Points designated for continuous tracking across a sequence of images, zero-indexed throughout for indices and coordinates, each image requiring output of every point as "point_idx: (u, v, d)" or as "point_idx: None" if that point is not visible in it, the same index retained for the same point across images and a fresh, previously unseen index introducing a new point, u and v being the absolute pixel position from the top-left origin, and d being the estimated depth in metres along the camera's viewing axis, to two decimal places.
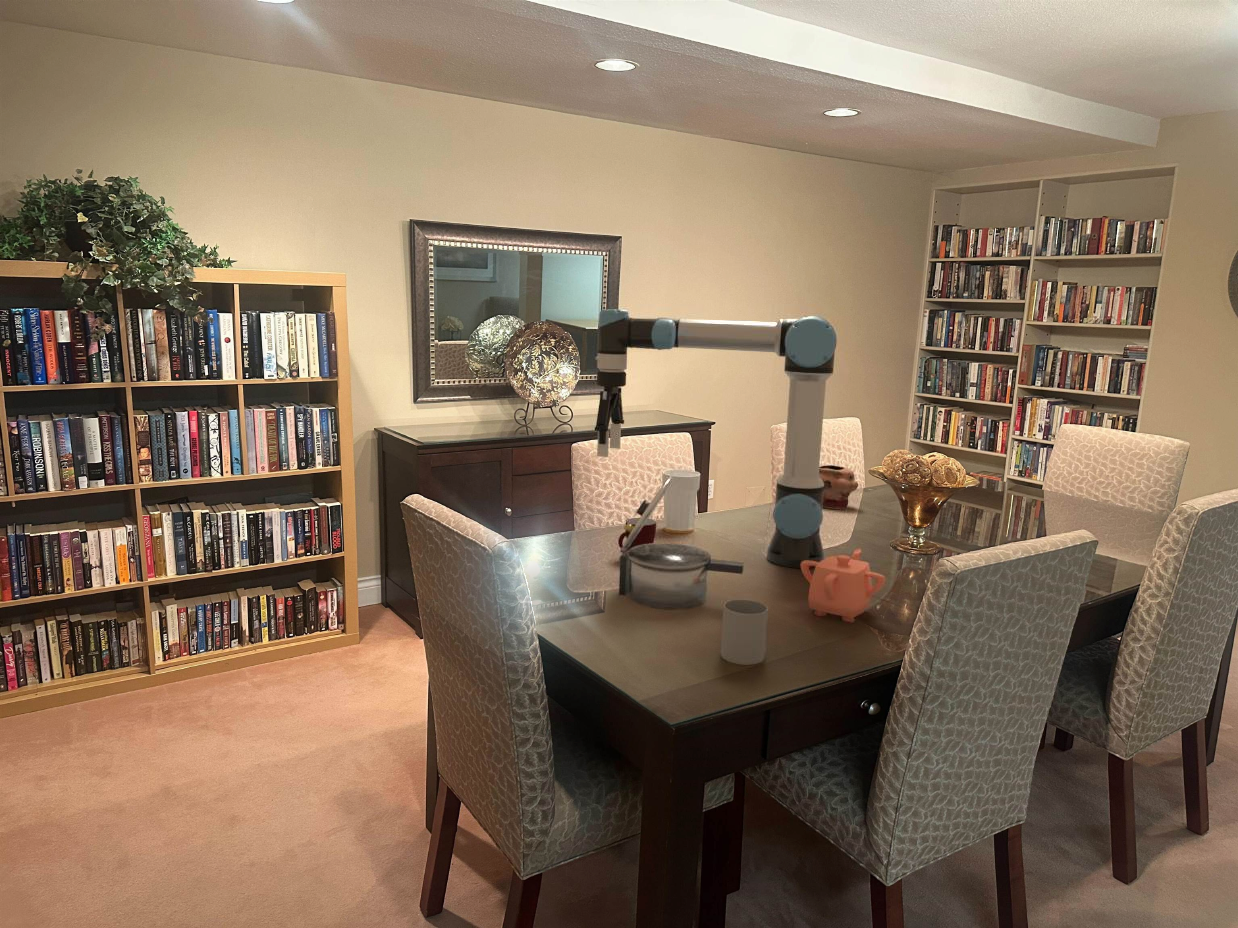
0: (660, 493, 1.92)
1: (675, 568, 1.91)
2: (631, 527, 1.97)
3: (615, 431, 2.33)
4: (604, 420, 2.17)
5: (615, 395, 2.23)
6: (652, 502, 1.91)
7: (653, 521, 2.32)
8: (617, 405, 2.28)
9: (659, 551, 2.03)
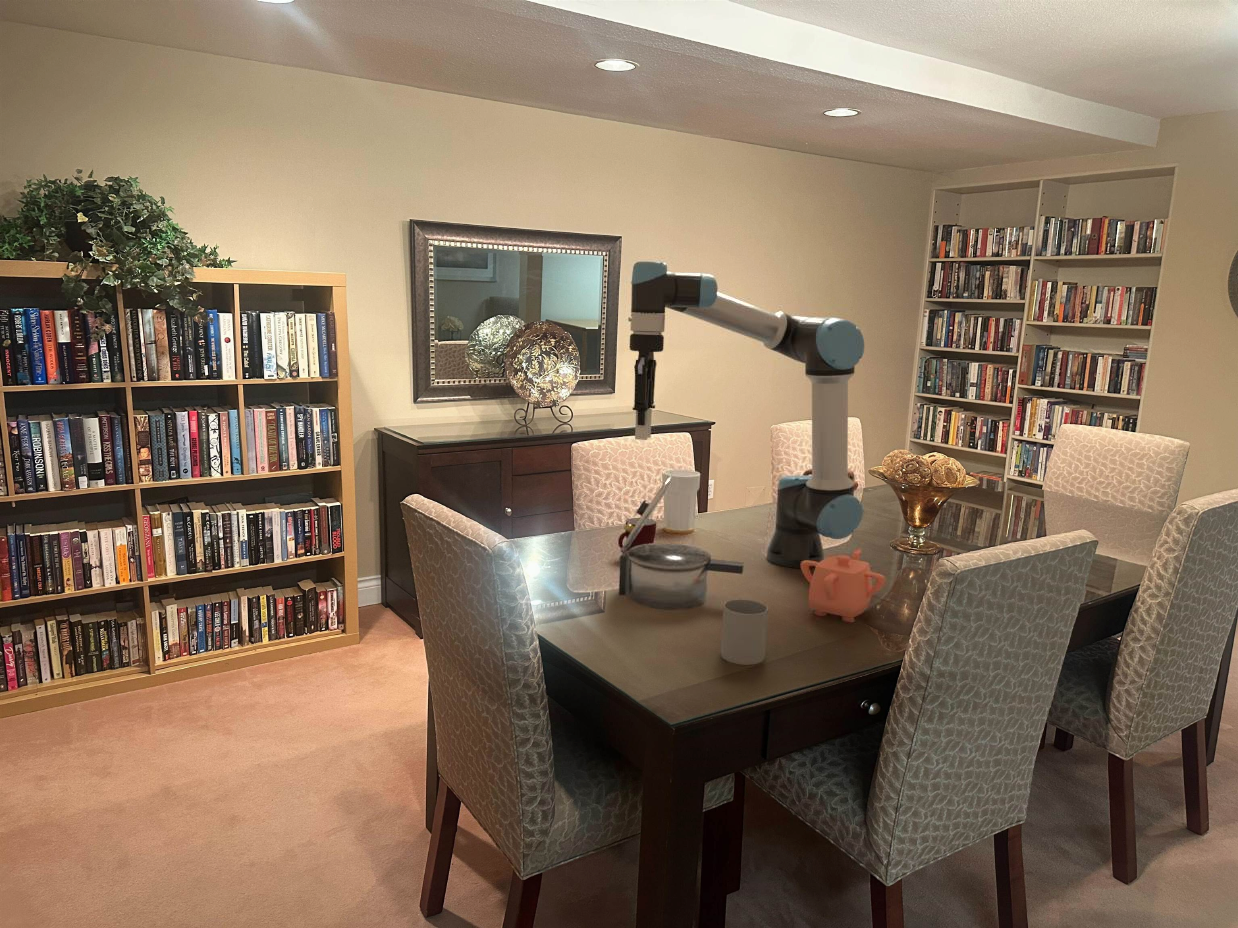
0: (660, 493, 1.92)
1: (675, 568, 1.91)
2: (631, 527, 1.97)
3: None
4: (643, 399, 1.91)
5: (651, 363, 1.92)
6: (652, 502, 1.91)
7: (653, 521, 2.32)
8: None
9: (659, 551, 2.03)
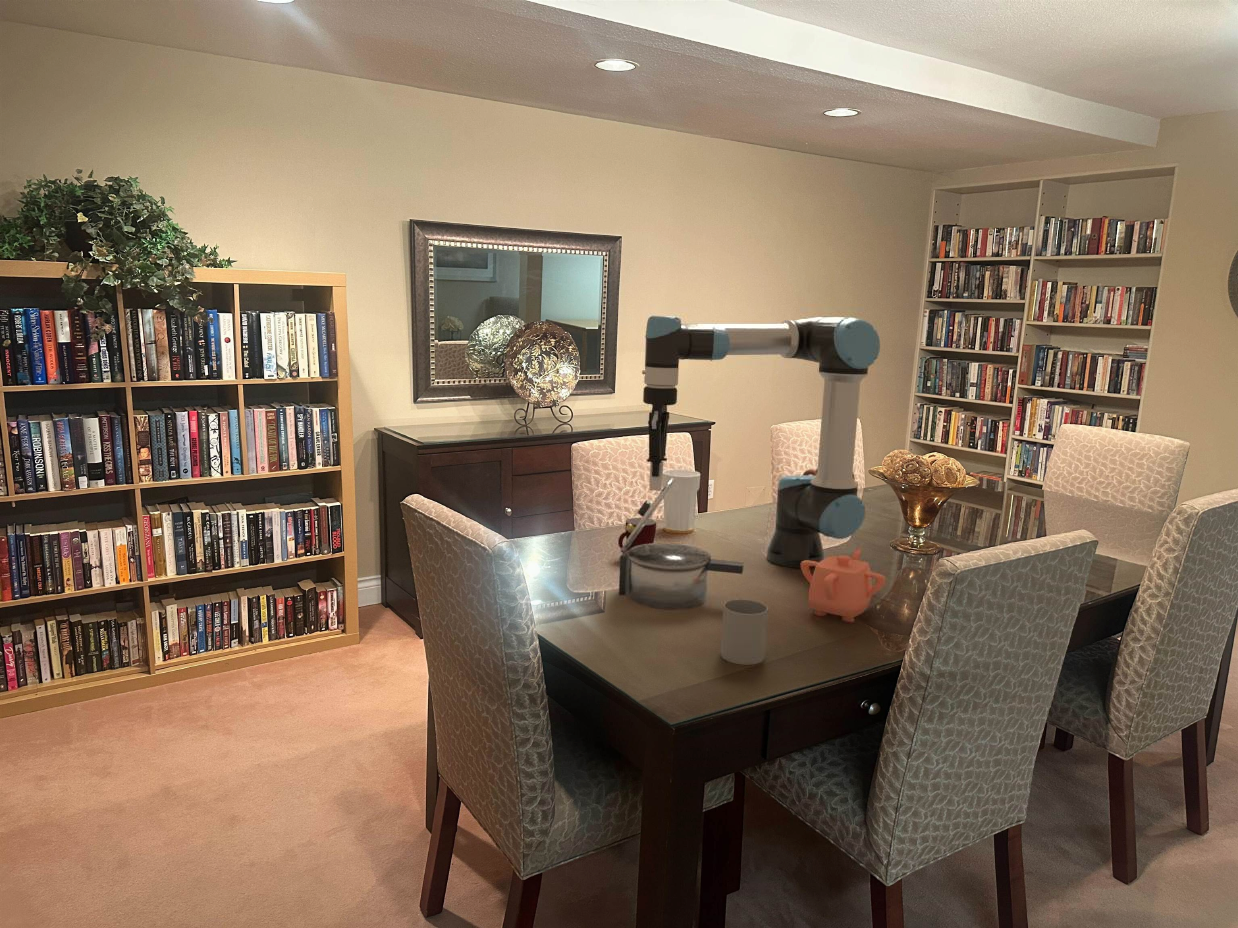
0: (662, 494, 1.92)
1: (675, 568, 1.91)
2: (632, 527, 1.97)
3: None
4: (657, 452, 1.93)
5: (664, 417, 1.94)
6: (654, 503, 1.91)
7: (653, 521, 2.32)
8: None
9: (659, 551, 2.03)
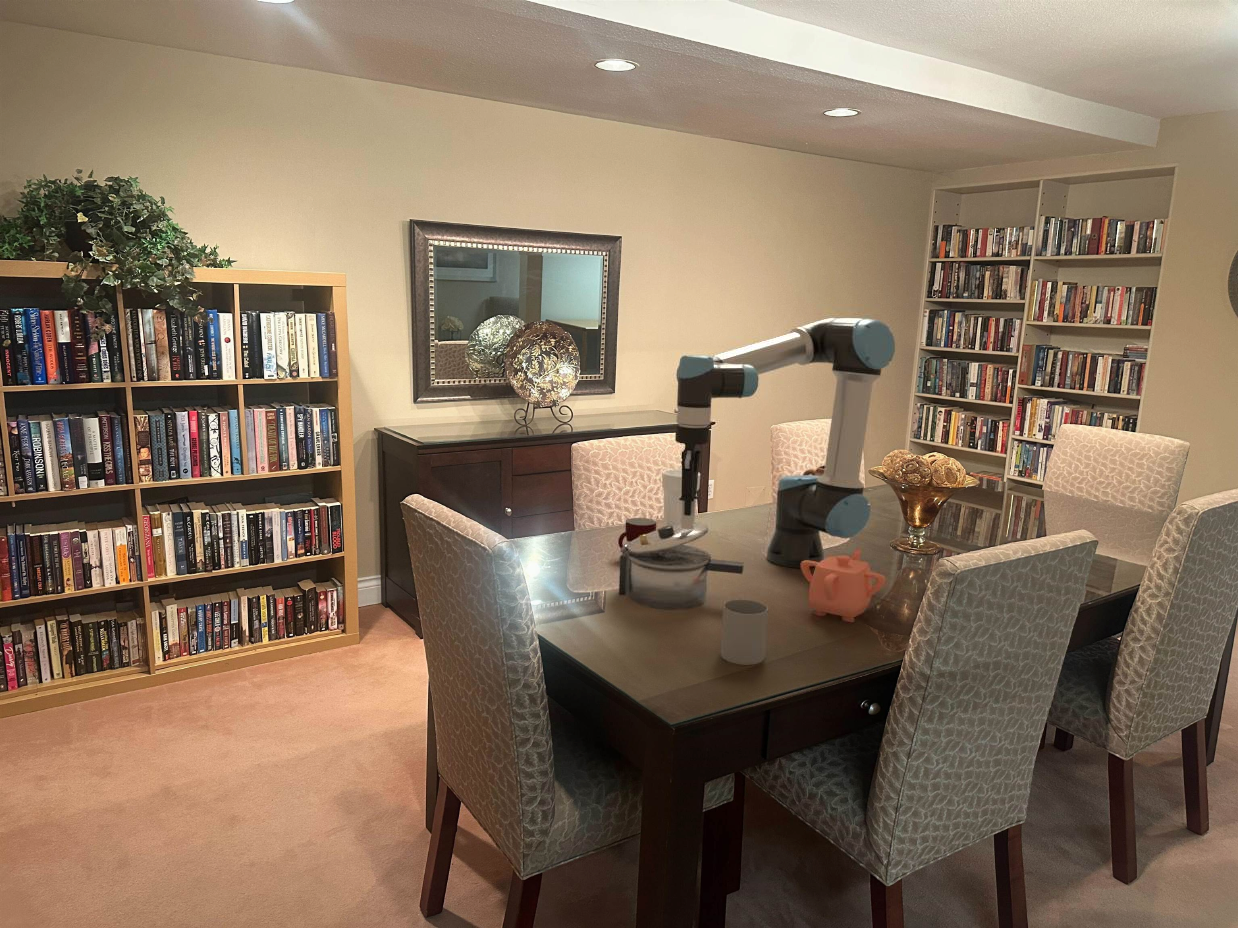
0: (692, 539, 1.92)
1: (675, 568, 1.91)
2: (645, 541, 1.97)
3: None
4: (690, 492, 1.93)
5: (697, 456, 1.93)
6: (681, 541, 1.91)
7: (653, 521, 2.32)
8: None
9: (659, 551, 2.03)
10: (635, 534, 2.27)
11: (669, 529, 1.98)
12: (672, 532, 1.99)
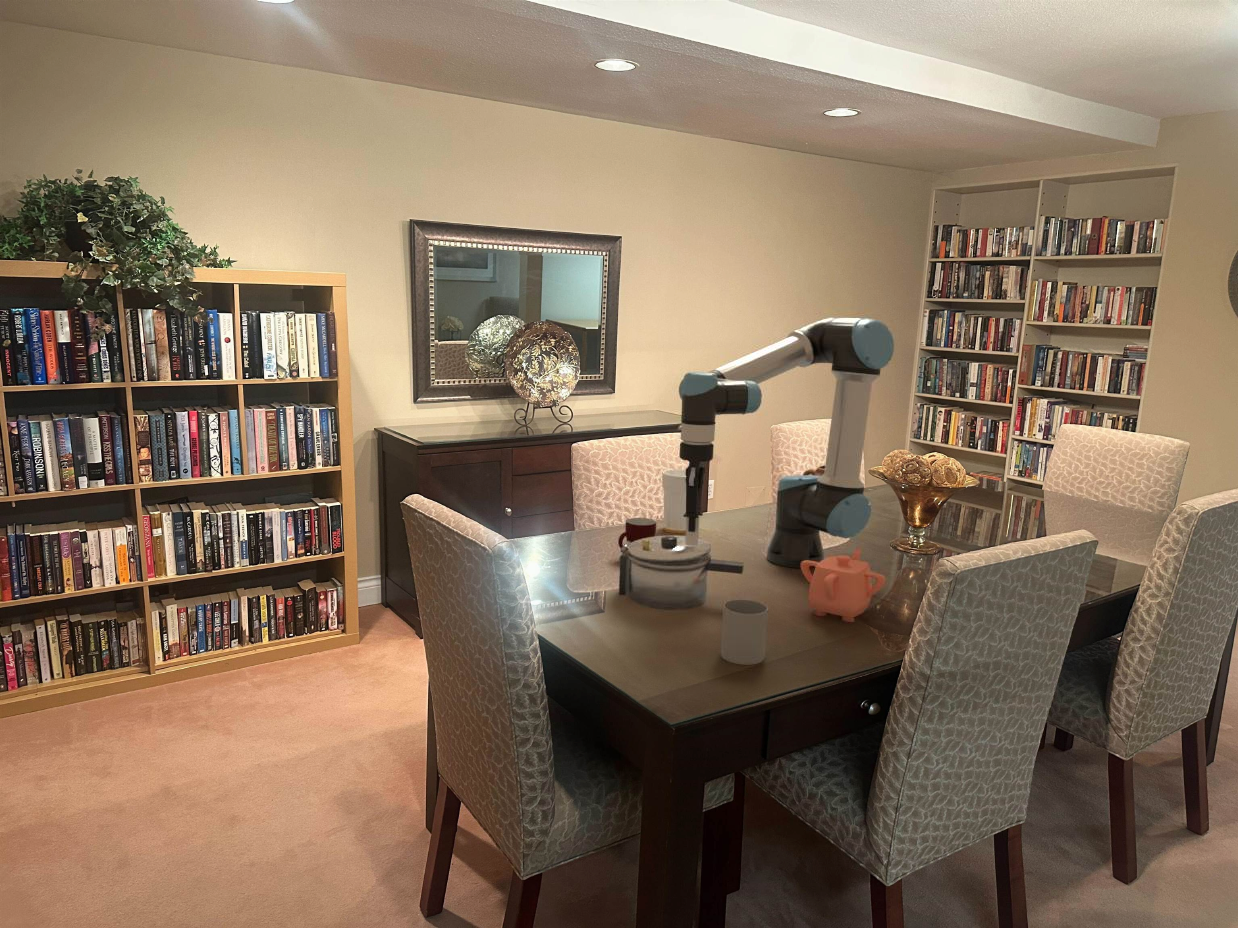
0: (695, 557, 1.93)
1: (675, 568, 1.91)
2: (647, 547, 1.97)
3: None
4: (694, 508, 1.93)
5: (701, 473, 1.94)
6: (684, 557, 1.92)
7: (653, 521, 2.32)
8: None
9: None
10: (635, 534, 2.27)
11: (673, 540, 1.99)
12: (675, 544, 1.99)
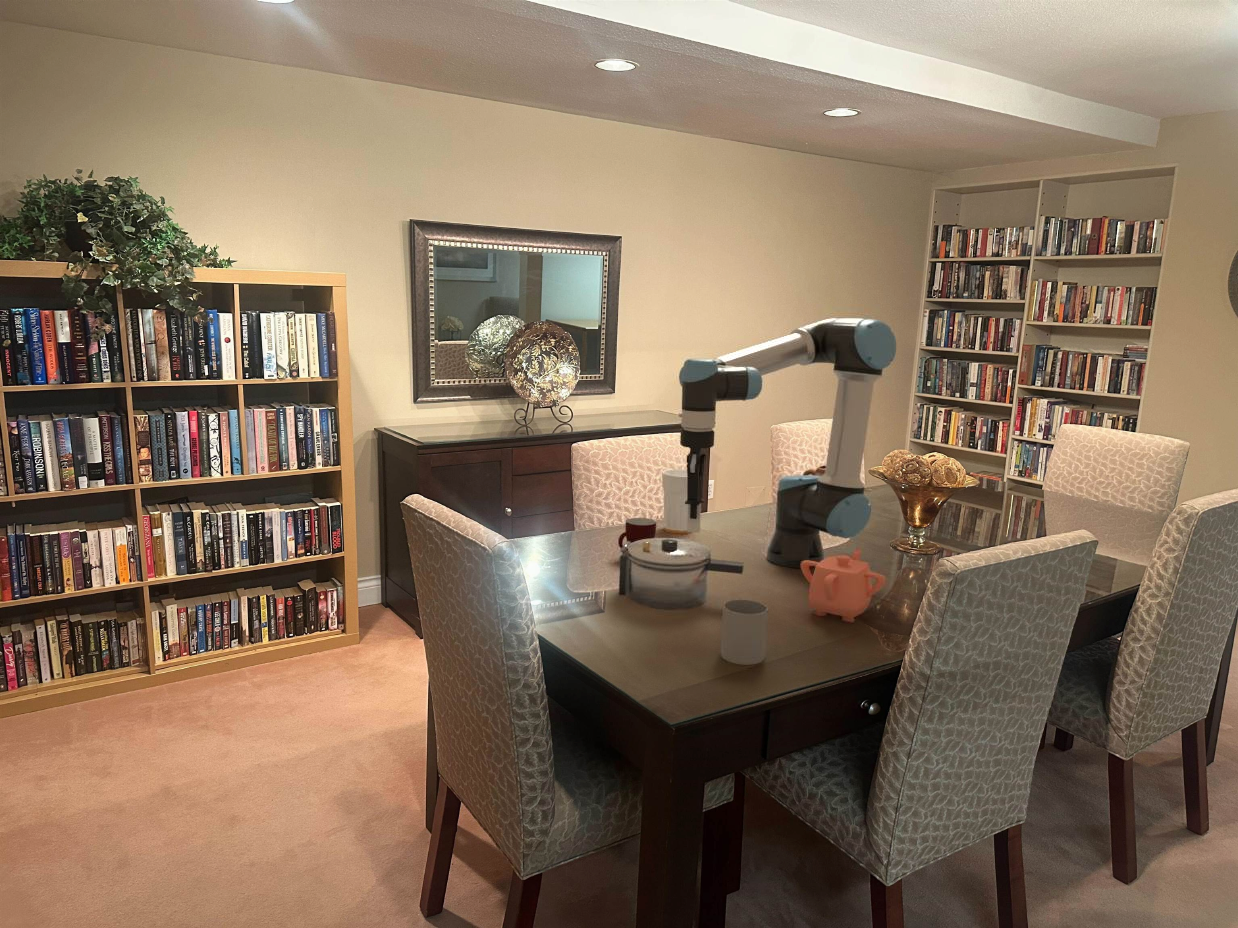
0: (695, 562, 1.93)
1: (675, 568, 1.91)
2: (648, 549, 1.97)
3: None
4: (696, 495, 1.93)
5: (702, 459, 1.93)
6: (684, 562, 1.92)
7: (653, 521, 2.32)
8: None
9: None
10: (635, 534, 2.27)
11: (673, 544, 1.99)
12: (675, 548, 1.99)
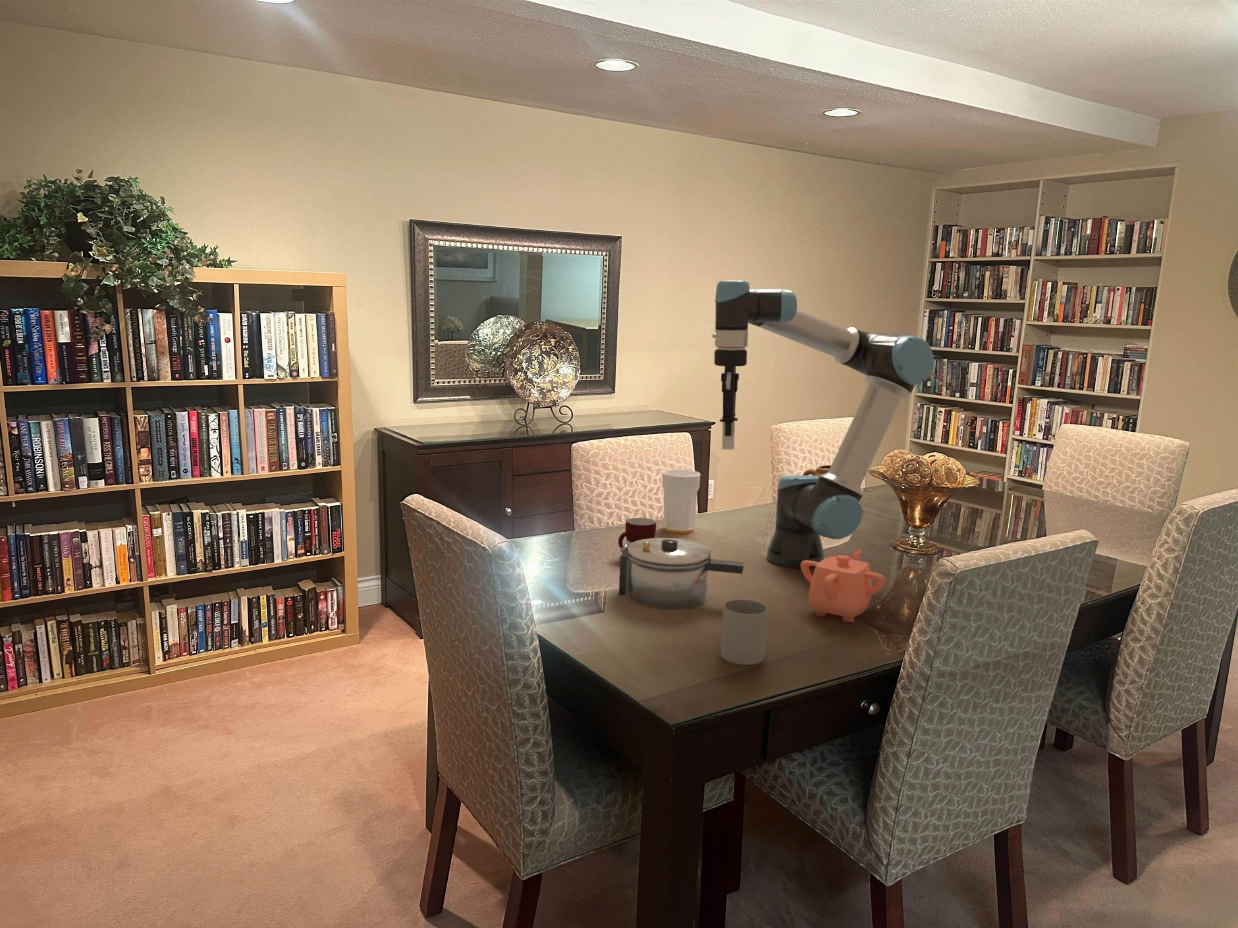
0: (695, 562, 1.93)
1: (675, 568, 1.91)
2: (648, 549, 1.97)
3: None
4: (731, 412, 2.01)
5: (736, 377, 2.02)
6: (684, 562, 1.92)
7: (653, 521, 2.32)
8: None
9: None
10: (635, 534, 2.27)
11: (673, 544, 1.99)
12: (675, 548, 1.99)
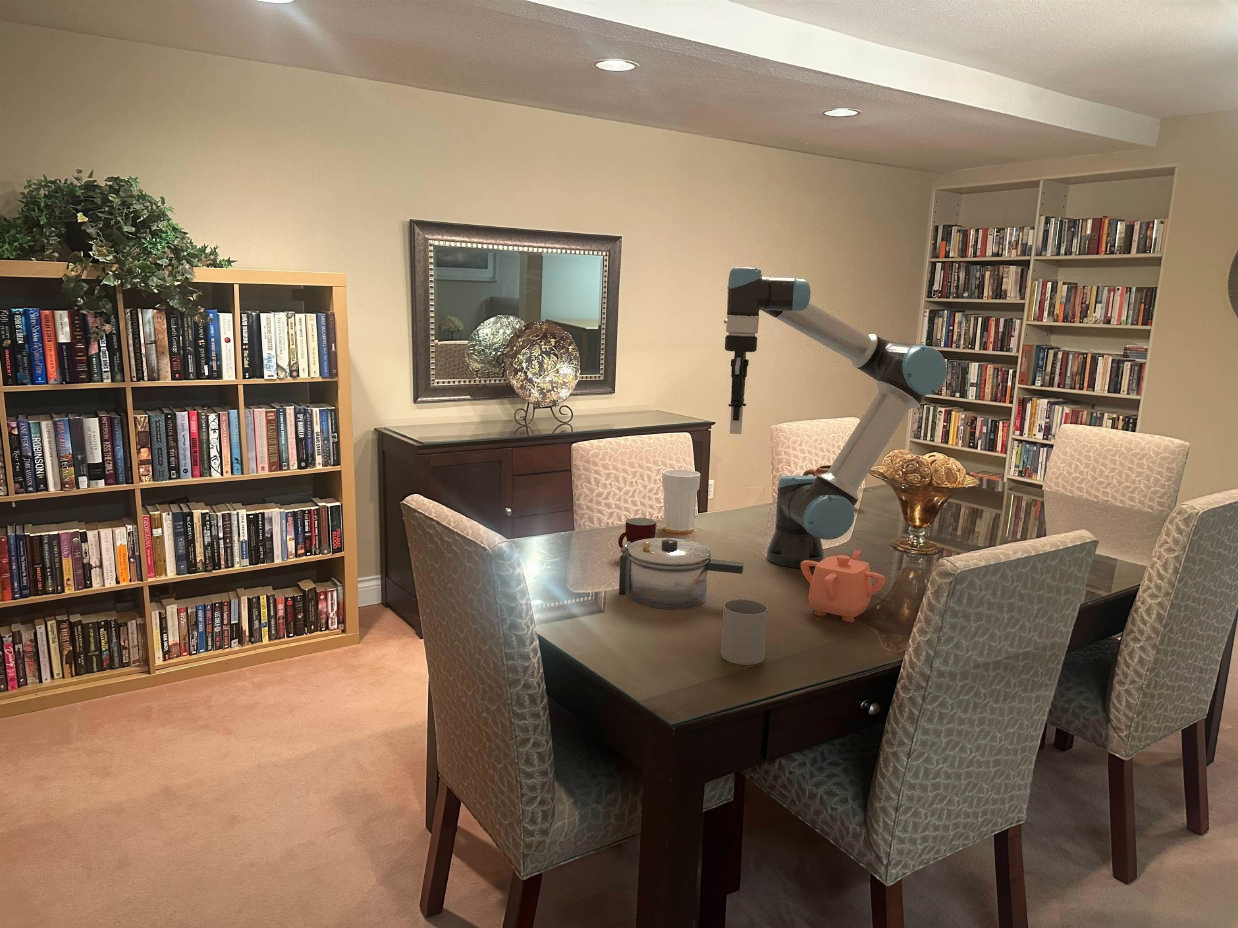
0: (695, 562, 1.93)
1: (675, 568, 1.91)
2: (648, 549, 1.97)
3: None
4: (739, 397, 2.05)
5: (746, 363, 2.05)
6: (684, 562, 1.92)
7: (653, 521, 2.32)
8: None
9: None
10: (635, 534, 2.27)
11: (673, 544, 1.99)
12: (675, 548, 1.99)
